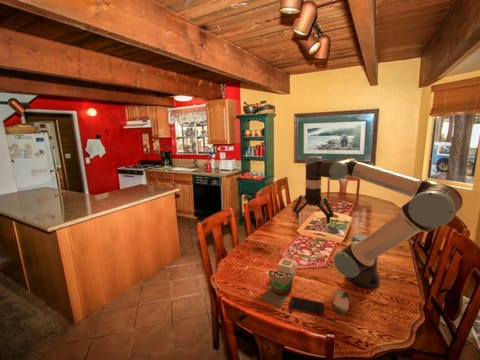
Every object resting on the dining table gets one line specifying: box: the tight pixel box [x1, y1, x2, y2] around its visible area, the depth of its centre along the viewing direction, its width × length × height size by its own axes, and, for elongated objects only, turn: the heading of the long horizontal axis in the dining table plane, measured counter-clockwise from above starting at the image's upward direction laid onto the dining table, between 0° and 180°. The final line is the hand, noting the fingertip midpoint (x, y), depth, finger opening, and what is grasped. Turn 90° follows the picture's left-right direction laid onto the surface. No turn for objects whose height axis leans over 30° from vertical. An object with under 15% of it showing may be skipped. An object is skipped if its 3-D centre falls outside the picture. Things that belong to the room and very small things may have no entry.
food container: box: [268, 269, 295, 296], centre depth 112 cm, size 12×6×10 cm, turn 69°
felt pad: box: [260, 284, 294, 308], centre depth 114 cm, size 10×15×1 cm, turn 148°
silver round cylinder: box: [331, 290, 351, 316], centre depth 102 cm, size 8×6×6 cm
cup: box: [277, 257, 296, 277], centre depth 126 cm, size 7×7×8 cm
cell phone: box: [288, 296, 325, 318], centre depth 104 cm, size 8×15×1 cm, turn 68°
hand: (312, 226), depth 123 cm, fingers open, 13 cm apart
